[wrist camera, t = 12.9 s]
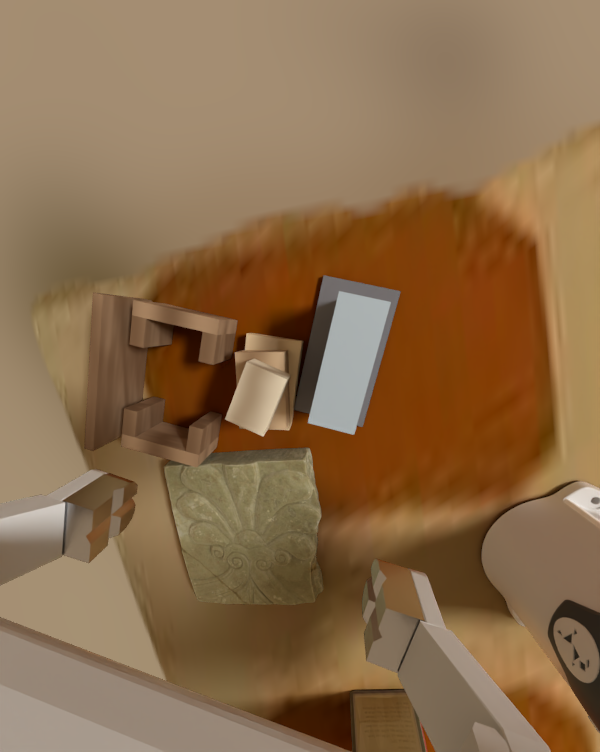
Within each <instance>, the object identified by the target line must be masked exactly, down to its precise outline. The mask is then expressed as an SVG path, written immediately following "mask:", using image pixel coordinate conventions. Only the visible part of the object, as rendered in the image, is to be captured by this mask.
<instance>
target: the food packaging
mask: <svg viewBox="0 0 600 752" xmlns="http://www.w3.org/2000/svg"><path fill="white" fill-rule="evenodd" d="M350 711H351V733H352V752H428V751H427V747H426V742H425V738H424V733H423V729H422V725H421V721H420V719H419V717H418V715H417V713H416V711H415V709H414V707H413V705H412V703H411V701H410V699H409V697H408V695H407V693H406V691H405V690H355V691H351V692H350Z"/></svg>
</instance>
